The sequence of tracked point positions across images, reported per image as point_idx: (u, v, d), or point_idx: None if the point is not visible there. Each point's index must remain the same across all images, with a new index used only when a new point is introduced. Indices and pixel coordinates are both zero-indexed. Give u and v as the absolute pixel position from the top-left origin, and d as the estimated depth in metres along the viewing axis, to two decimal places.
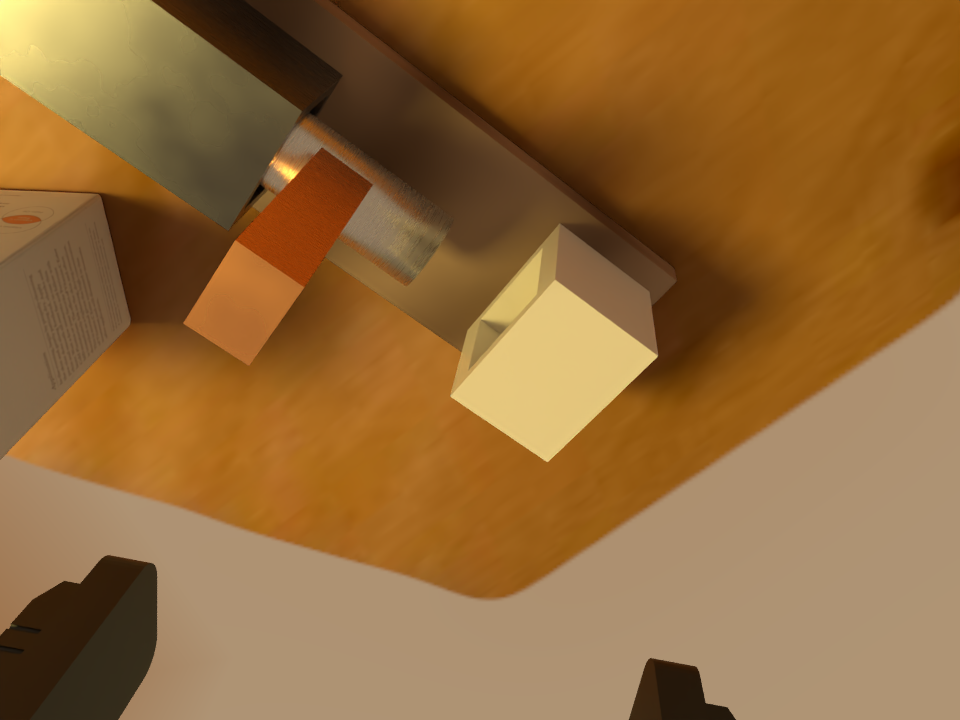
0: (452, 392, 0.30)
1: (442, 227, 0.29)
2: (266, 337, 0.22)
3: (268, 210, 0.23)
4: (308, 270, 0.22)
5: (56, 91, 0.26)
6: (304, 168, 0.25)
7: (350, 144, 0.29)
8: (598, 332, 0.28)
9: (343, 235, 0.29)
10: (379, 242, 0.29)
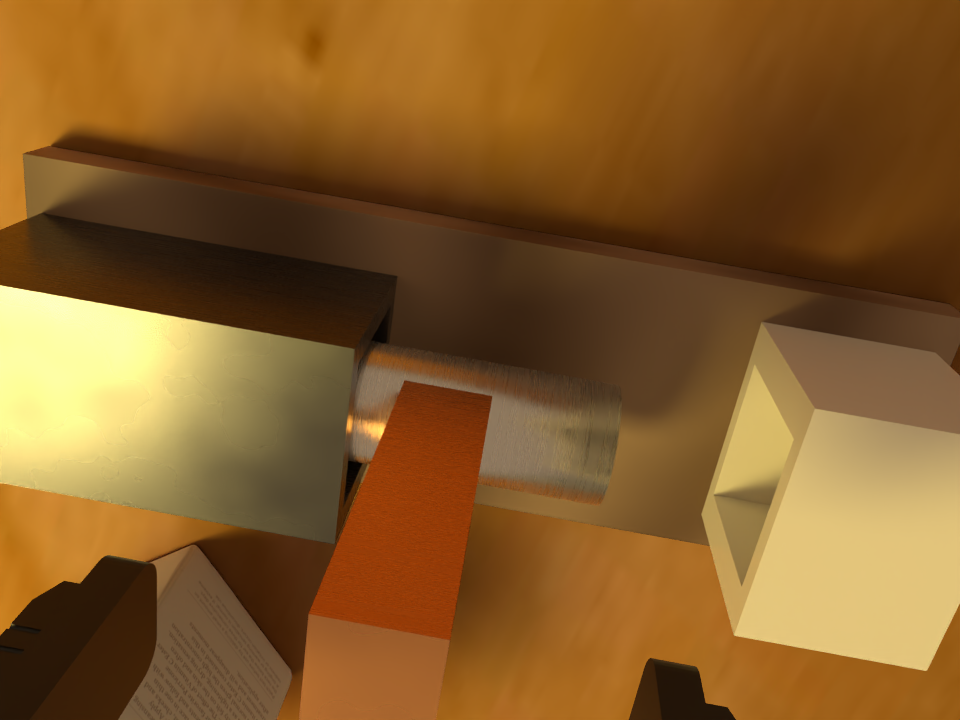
0: (734, 628, 0.20)
1: (611, 406, 0.20)
2: None
3: (352, 523, 0.14)
4: (446, 601, 0.12)
5: (59, 469, 0.19)
6: (389, 424, 0.17)
7: (441, 356, 0.20)
8: (919, 454, 0.17)
9: (485, 478, 0.20)
10: (536, 466, 0.19)
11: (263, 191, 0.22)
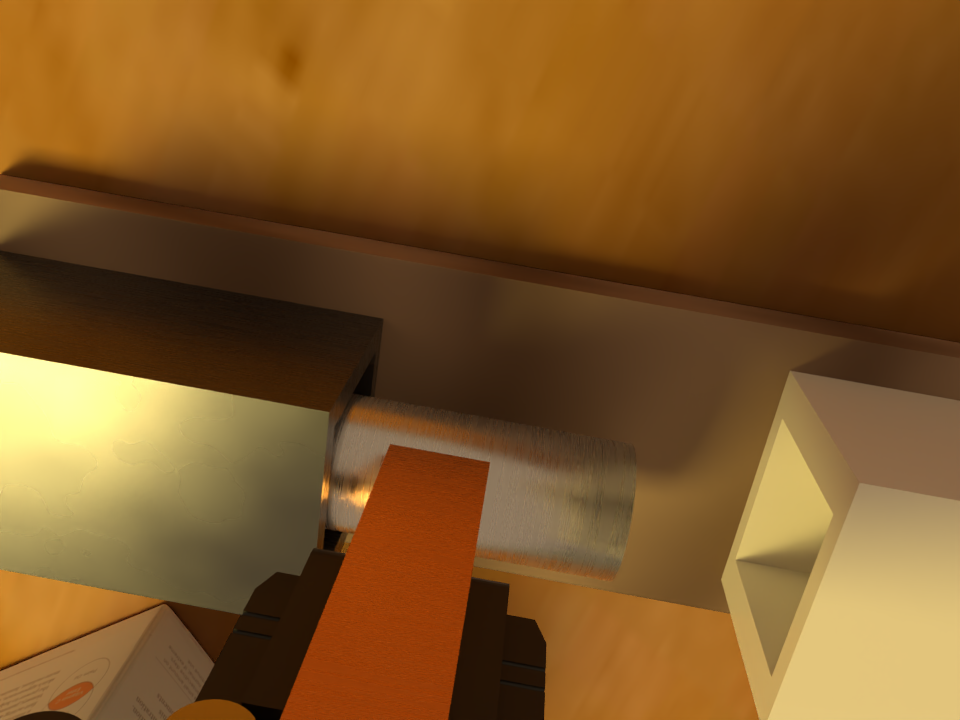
0: None
1: (625, 471, 0.17)
2: None
3: (319, 640, 0.11)
4: None
5: None
6: (369, 502, 0.15)
7: (433, 412, 0.18)
8: None
9: (482, 551, 0.18)
10: (540, 540, 0.17)
11: (234, 224, 0.20)
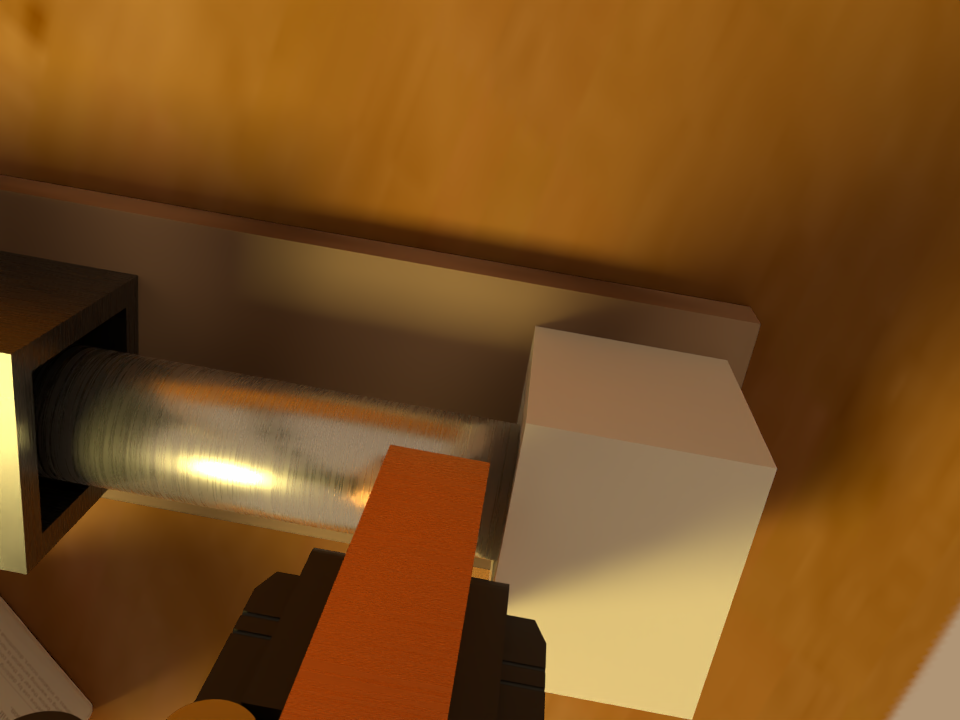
0: None
1: None
2: None
3: (319, 640, 0.11)
4: None
5: None
6: (369, 502, 0.15)
7: (433, 413, 0.18)
8: (649, 475, 0.15)
9: (482, 552, 0.18)
10: None
11: None
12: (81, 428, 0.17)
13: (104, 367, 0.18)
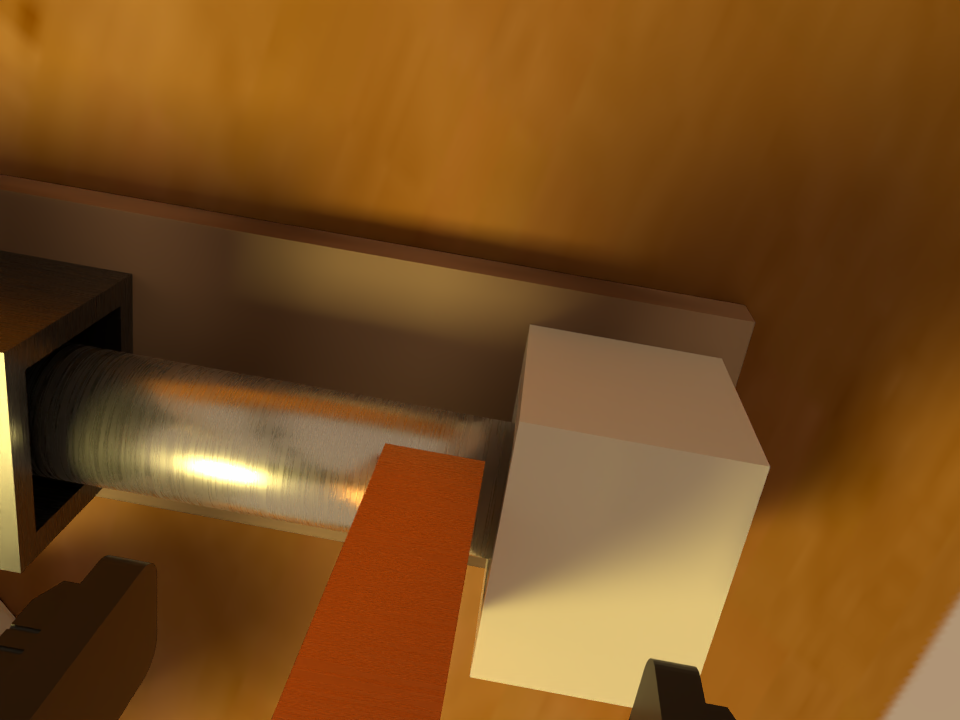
0: (471, 668, 0.17)
1: None
2: None
3: (312, 639, 0.11)
4: None
5: None
6: (364, 501, 0.15)
7: (428, 411, 0.18)
8: (642, 473, 0.15)
9: (478, 550, 0.18)
10: None
11: None
12: (76, 428, 0.17)
13: (98, 366, 0.18)
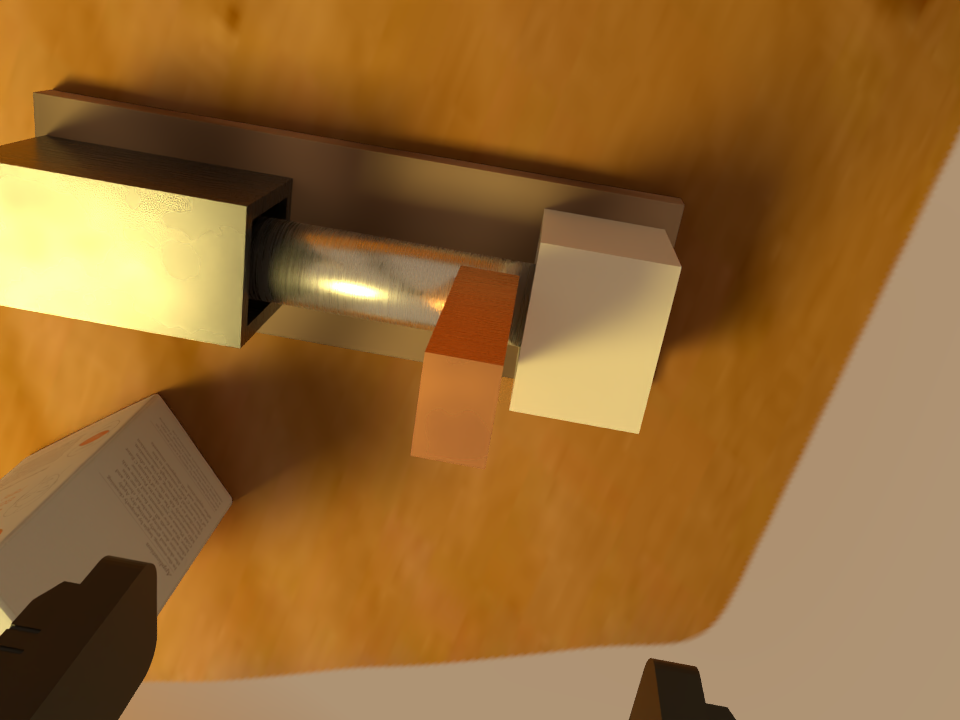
0: (510, 405, 0.29)
1: None
2: (489, 432, 0.22)
3: (441, 322, 0.23)
4: (500, 353, 0.22)
5: (55, 296, 0.29)
6: (454, 284, 0.26)
7: (483, 255, 0.30)
8: (610, 273, 0.27)
9: (514, 336, 0.29)
10: None
11: (199, 119, 0.32)
12: (275, 260, 0.29)
13: (284, 226, 0.29)
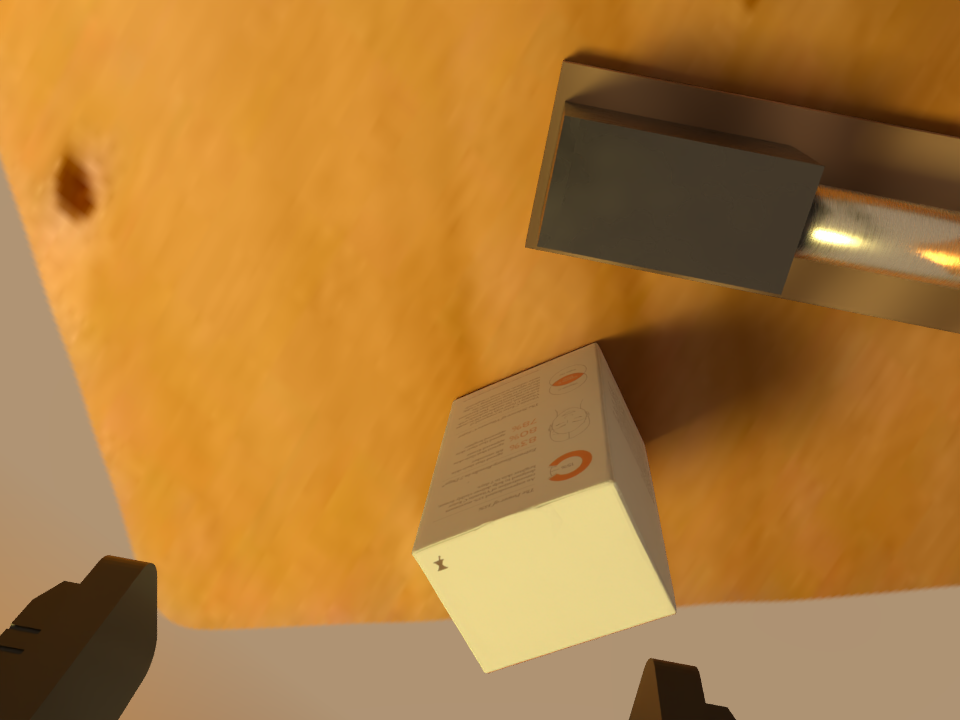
0: None
1: None
2: None
3: None
4: None
5: (618, 245, 0.32)
6: None
7: None
8: None
9: None
10: None
11: (709, 89, 0.35)
12: (816, 216, 0.32)
13: None
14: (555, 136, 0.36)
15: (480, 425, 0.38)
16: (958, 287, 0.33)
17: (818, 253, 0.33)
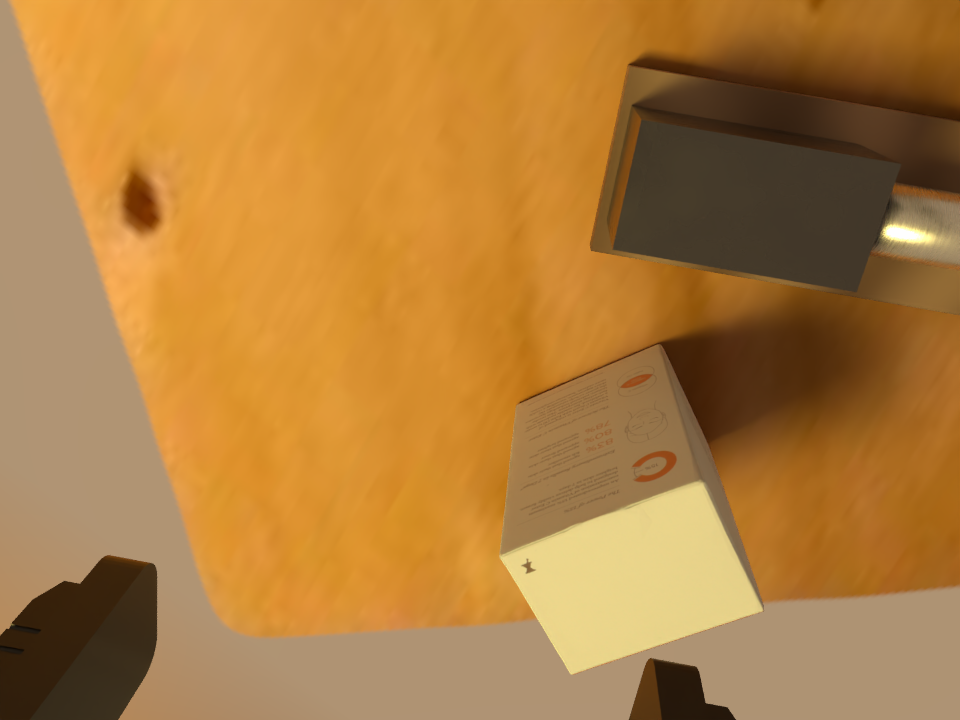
0: None
1: None
2: None
3: None
4: None
5: (694, 246, 0.33)
6: None
7: None
8: None
9: None
10: None
11: (775, 90, 0.35)
12: (890, 213, 0.33)
13: None
14: (621, 140, 0.36)
15: (550, 428, 0.38)
16: None
17: (891, 250, 0.33)
